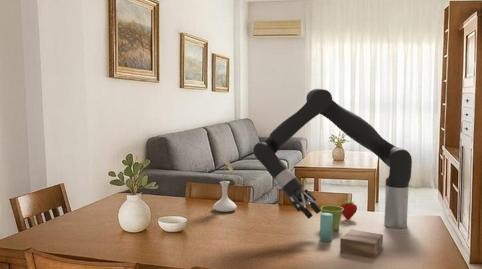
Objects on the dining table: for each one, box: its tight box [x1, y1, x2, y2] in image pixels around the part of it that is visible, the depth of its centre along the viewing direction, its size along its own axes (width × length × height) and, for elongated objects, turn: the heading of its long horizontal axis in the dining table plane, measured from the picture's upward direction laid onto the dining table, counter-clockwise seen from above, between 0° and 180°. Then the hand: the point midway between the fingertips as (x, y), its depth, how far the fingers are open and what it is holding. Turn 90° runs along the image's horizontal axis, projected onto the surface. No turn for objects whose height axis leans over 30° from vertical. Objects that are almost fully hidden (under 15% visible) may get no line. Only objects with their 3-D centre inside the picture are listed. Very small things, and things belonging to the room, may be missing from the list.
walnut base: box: [339, 229, 384, 259], centre depth 168 cm, size 12×12×5 cm
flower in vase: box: [212, 157, 238, 213], centre depth 221 cm, size 13×11×25 cm
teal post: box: [319, 212, 333, 243], centre depth 178 cm, size 5×5×10 cm
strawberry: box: [339, 198, 358, 221], centre depth 206 cm, size 6×8×10 cm
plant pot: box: [320, 205, 344, 232], centre depth 193 cm, size 9×9×9 cm
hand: (315, 214), depth 181 cm, fingers open, 8 cm apart
